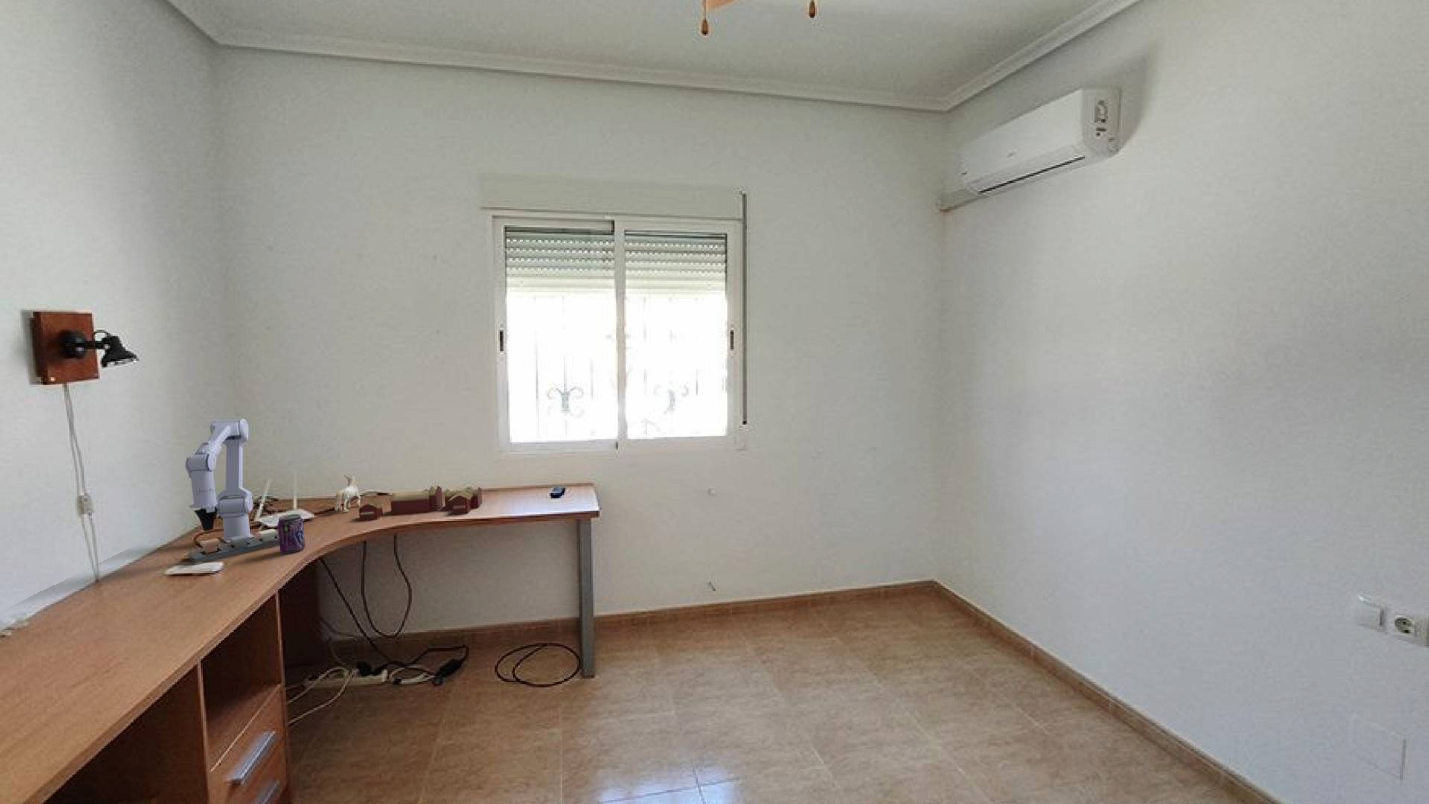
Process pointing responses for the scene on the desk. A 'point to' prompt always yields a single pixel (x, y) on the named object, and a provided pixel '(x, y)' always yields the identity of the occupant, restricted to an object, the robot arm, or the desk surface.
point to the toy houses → (425, 502)
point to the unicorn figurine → (347, 494)
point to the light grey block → (239, 540)
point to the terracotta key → (210, 545)
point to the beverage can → (291, 533)
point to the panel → (233, 549)
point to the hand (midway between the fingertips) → (208, 530)
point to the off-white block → (267, 534)
